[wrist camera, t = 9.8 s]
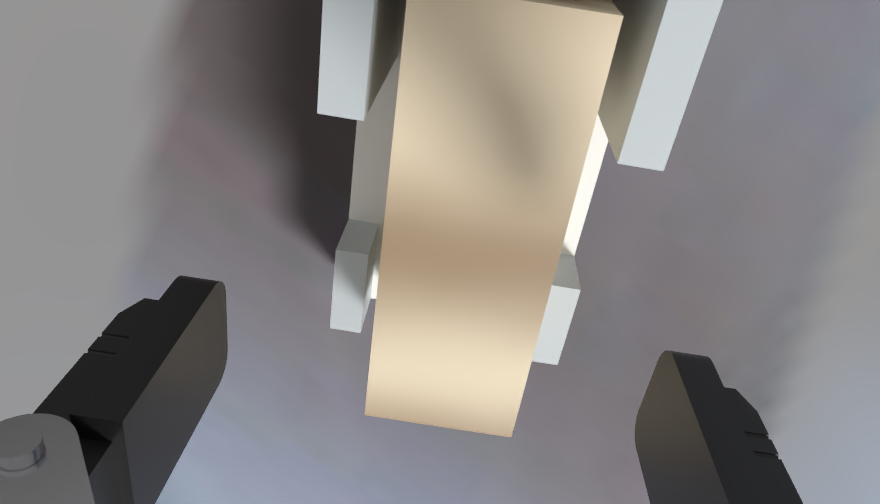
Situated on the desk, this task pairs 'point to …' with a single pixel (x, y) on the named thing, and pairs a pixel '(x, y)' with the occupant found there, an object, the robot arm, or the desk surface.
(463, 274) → the beech rail
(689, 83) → the bracket board
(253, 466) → the desk surface
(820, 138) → the desk surface
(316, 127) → the desk surface
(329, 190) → the desk surface
